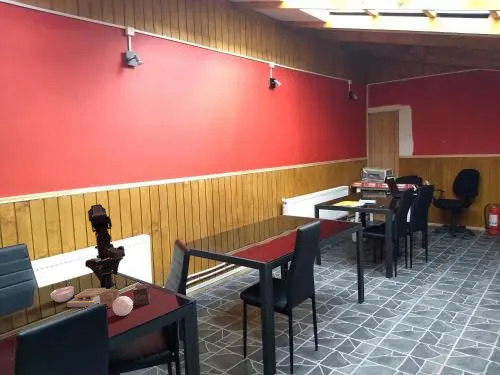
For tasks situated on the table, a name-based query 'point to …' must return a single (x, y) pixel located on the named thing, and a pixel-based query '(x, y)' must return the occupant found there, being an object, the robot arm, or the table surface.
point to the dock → (83, 302)
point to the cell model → (62, 294)
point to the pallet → (90, 293)
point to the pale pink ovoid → (123, 305)
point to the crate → (109, 297)
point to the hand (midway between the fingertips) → (108, 277)
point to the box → (142, 294)
